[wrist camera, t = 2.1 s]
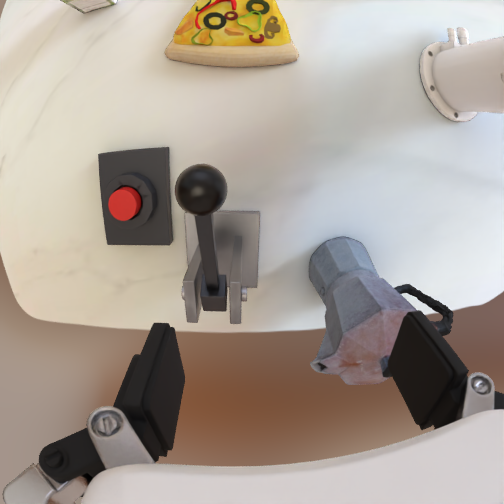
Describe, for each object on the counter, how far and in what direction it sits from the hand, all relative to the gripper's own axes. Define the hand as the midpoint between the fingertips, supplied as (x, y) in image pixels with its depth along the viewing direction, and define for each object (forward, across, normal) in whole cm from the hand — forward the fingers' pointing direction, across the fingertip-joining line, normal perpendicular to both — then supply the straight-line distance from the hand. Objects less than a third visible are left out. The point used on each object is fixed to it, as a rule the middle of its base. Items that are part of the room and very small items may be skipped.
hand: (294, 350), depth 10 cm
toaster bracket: (+26, +5, +6) cm, 27 cm away
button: (+22, +15, -1) cm, 27 cm away
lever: (+13, +5, 0) cm, 14 cm away
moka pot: (+26, -11, +8) cm, 29 cm away
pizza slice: (+26, +3, -27) cm, 37 cm away
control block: (+26, +16, -2) cm, 30 cm away
